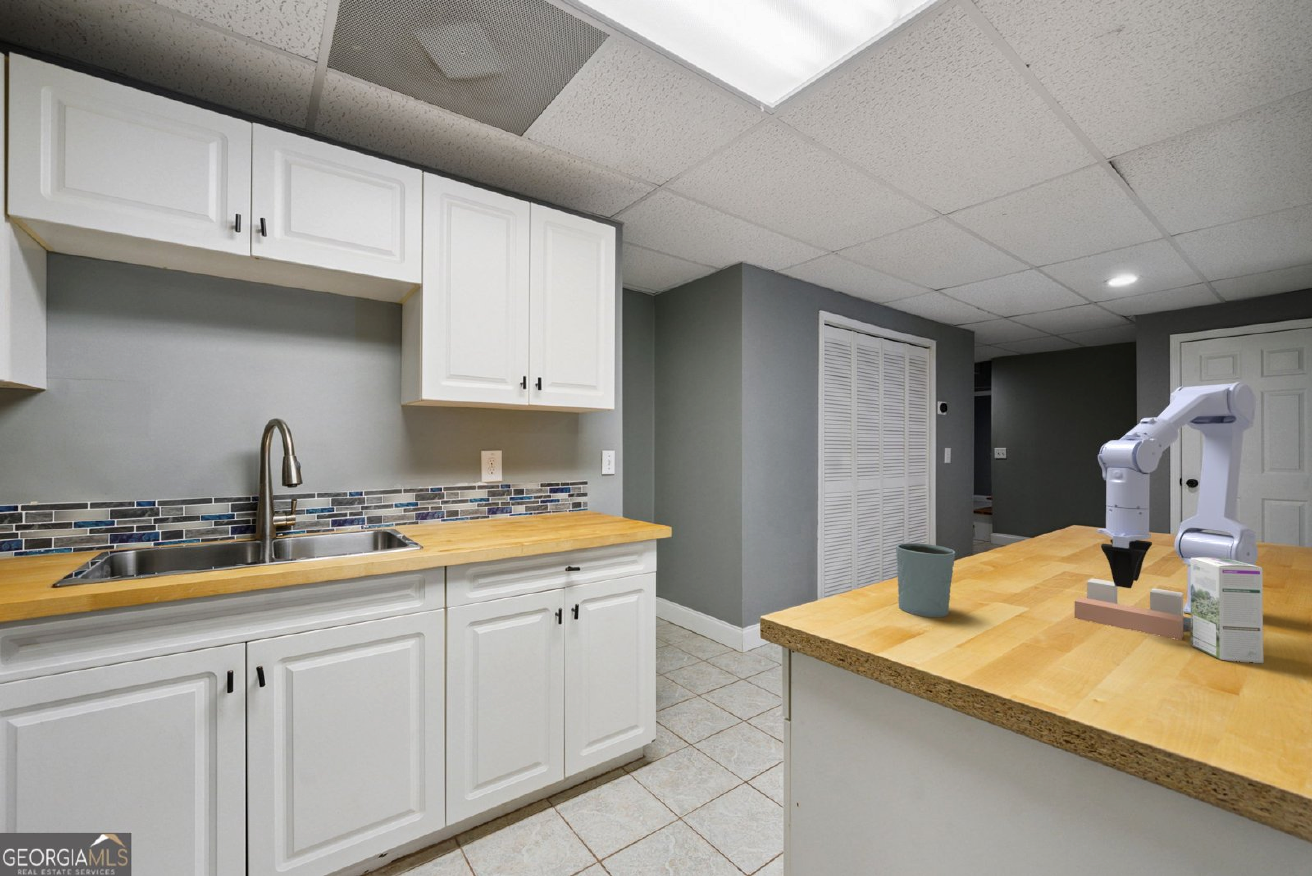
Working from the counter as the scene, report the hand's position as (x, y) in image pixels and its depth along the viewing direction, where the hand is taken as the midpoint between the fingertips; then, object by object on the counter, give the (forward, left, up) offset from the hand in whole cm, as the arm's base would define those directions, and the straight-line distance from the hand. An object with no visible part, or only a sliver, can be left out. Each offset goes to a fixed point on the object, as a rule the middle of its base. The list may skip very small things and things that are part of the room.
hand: (1126, 583), depth 93 cm
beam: (0, 0, -8) cm, 8 cm away
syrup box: (+5, +12, -8) cm, 15 cm away
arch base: (-8, 0, -8) cm, 11 cm away
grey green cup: (+19, -27, -8) cm, 34 cm away
